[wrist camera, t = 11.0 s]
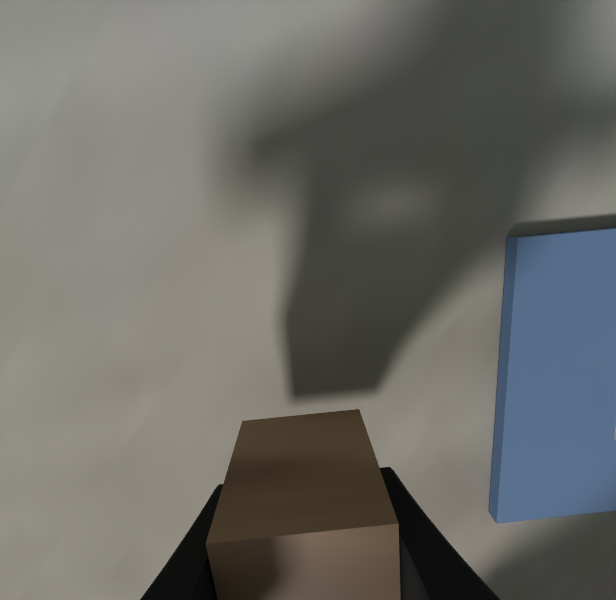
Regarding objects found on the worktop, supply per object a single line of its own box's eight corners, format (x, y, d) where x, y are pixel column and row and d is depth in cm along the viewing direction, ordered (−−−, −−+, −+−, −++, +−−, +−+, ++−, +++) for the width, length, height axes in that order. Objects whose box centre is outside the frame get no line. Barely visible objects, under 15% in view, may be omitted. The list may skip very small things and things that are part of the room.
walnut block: (364, 504, 11) (402, 657, 7) (257, 515, 11) (234, 676, 7) (358, 409, 10) (398, 523, 6) (242, 421, 10) (205, 544, 6)
